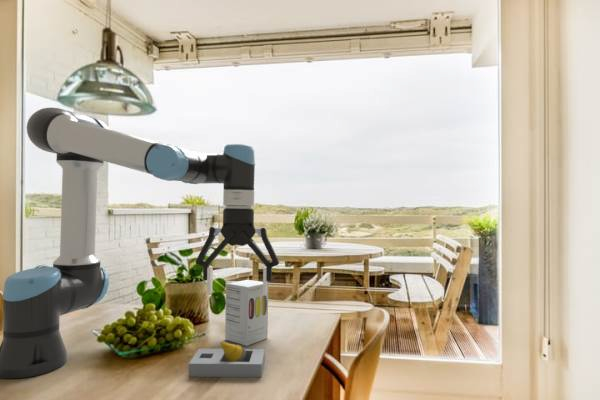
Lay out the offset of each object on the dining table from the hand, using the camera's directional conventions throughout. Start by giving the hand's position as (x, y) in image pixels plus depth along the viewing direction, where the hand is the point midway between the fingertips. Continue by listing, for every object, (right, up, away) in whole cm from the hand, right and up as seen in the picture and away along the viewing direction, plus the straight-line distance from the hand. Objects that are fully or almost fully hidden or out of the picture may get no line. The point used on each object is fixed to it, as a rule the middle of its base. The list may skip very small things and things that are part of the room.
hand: (237, 293), depth 101 cm
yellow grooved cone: (-1, -18, 0) cm, 18 cm away
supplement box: (-1, -19, +22) cm, 29 cm away
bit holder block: (-2, -18, 0) cm, 18 cm away
